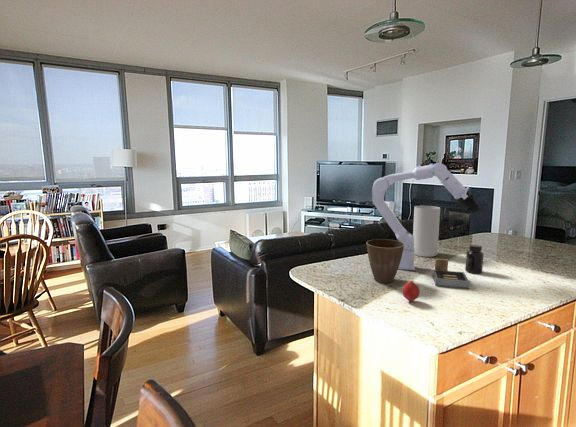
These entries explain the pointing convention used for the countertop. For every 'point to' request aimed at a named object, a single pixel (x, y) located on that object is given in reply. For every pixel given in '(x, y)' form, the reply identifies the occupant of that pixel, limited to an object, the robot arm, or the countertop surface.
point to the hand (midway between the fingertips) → (475, 209)
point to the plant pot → (384, 258)
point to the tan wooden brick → (441, 264)
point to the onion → (410, 291)
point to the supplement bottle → (474, 259)
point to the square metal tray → (450, 279)
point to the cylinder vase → (426, 230)
